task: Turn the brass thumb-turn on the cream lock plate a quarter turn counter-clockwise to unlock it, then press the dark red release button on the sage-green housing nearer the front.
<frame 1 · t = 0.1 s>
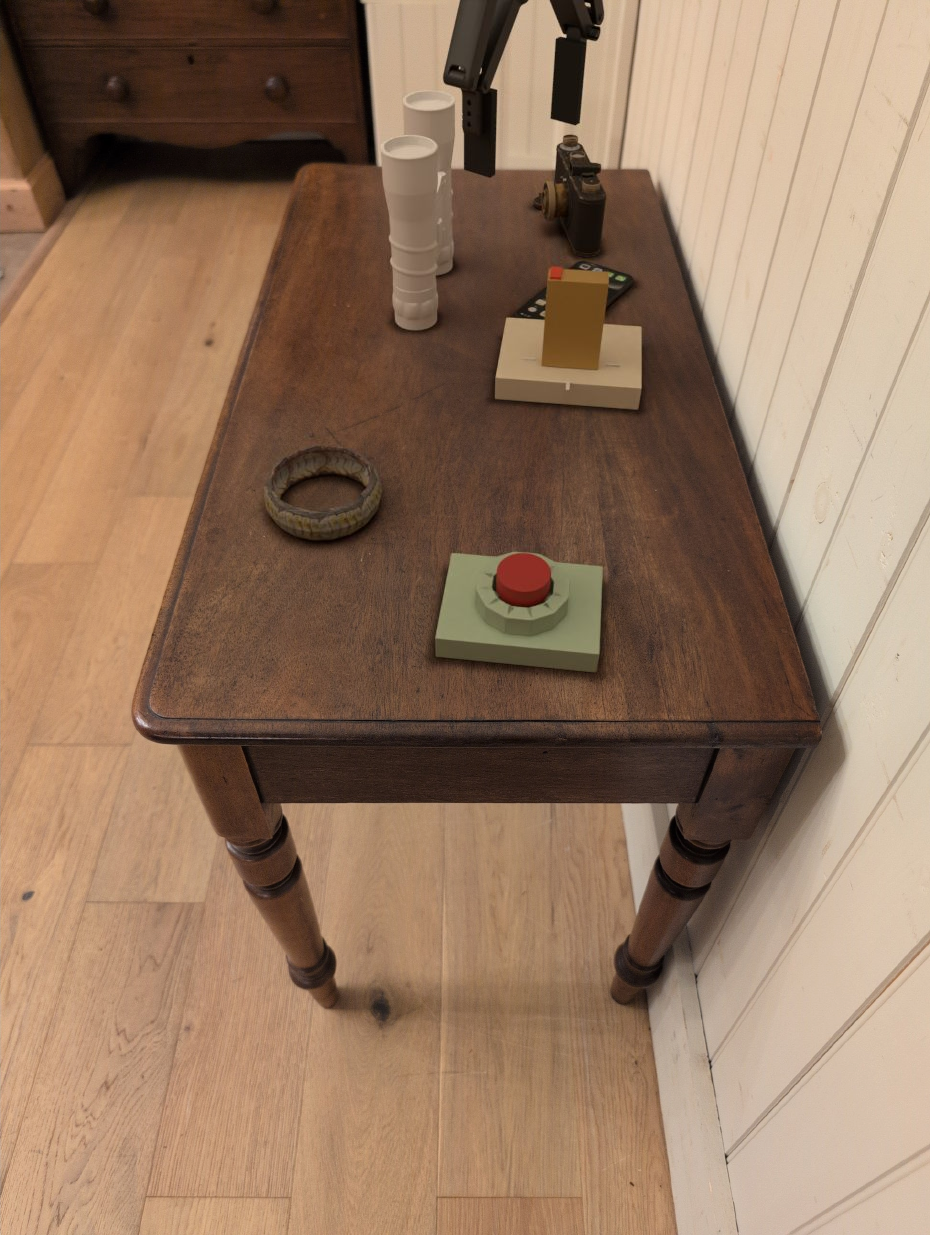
hand: (524, 146, 81), 20 cm above the table, tool pointing down, fingers open, 13 cm apart
camera: (565, 227, 115), on the table
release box: (520, 619, 71), on the table
decorative ring: (325, 507, 80), on the table
smartphone: (575, 301, 103), on the table
binoculars: (424, 293, 104), on the table
release button: (523, 579, 68), point 4 cm above the table, slide at 0.1 cm
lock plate: (568, 372, 93), on the table
lock knob: (574, 319, 87), point 7 cm above the table, hinge at 0.0°
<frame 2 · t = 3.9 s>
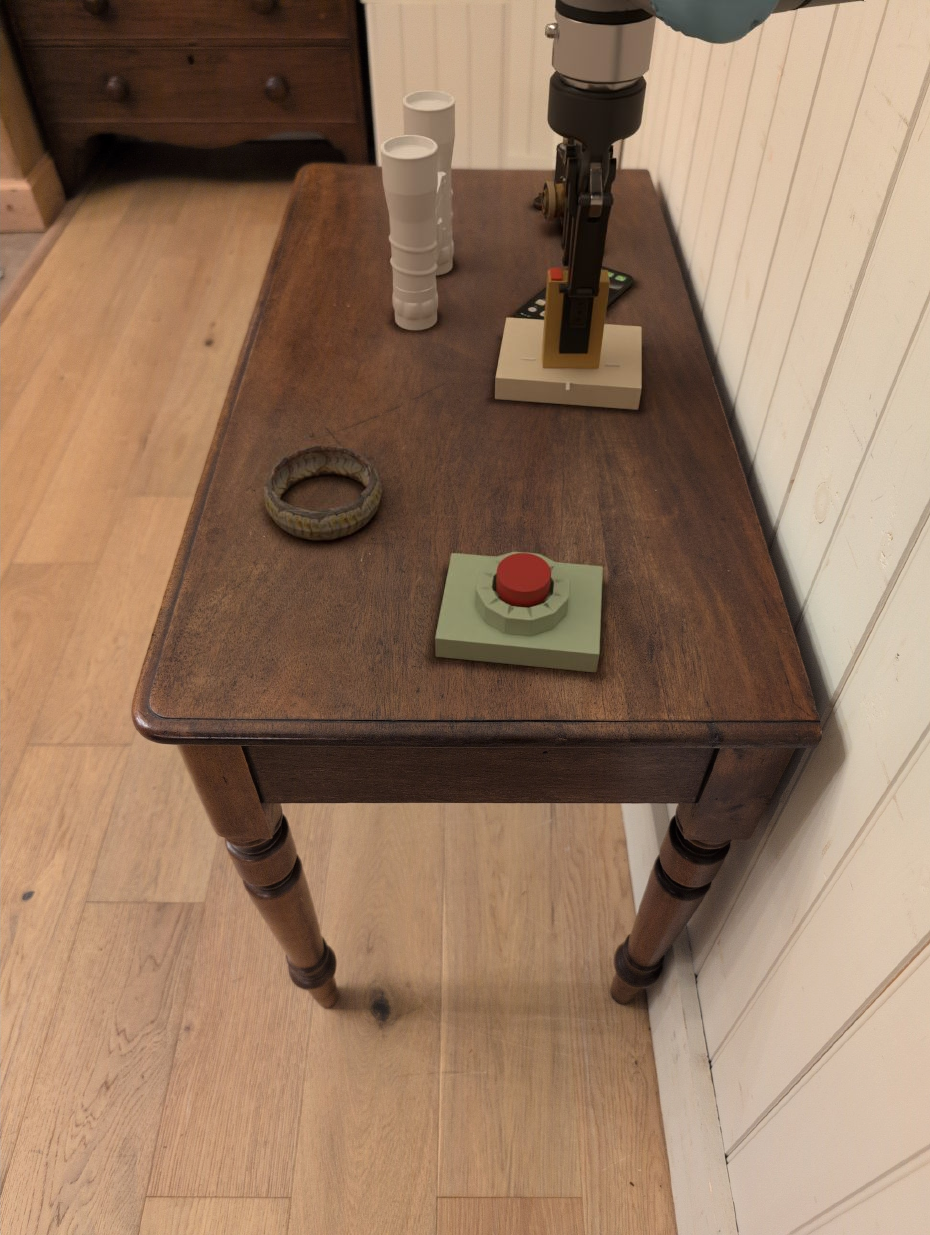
hand: (572, 342, 89), 5 cm above the table, tool pointing down, fingers closed on lock knob, 2 cm apart
lock knob: (574, 319, 87), point 7 cm above the table, hinge at 6.9°, touching gripper
everything else where it was.
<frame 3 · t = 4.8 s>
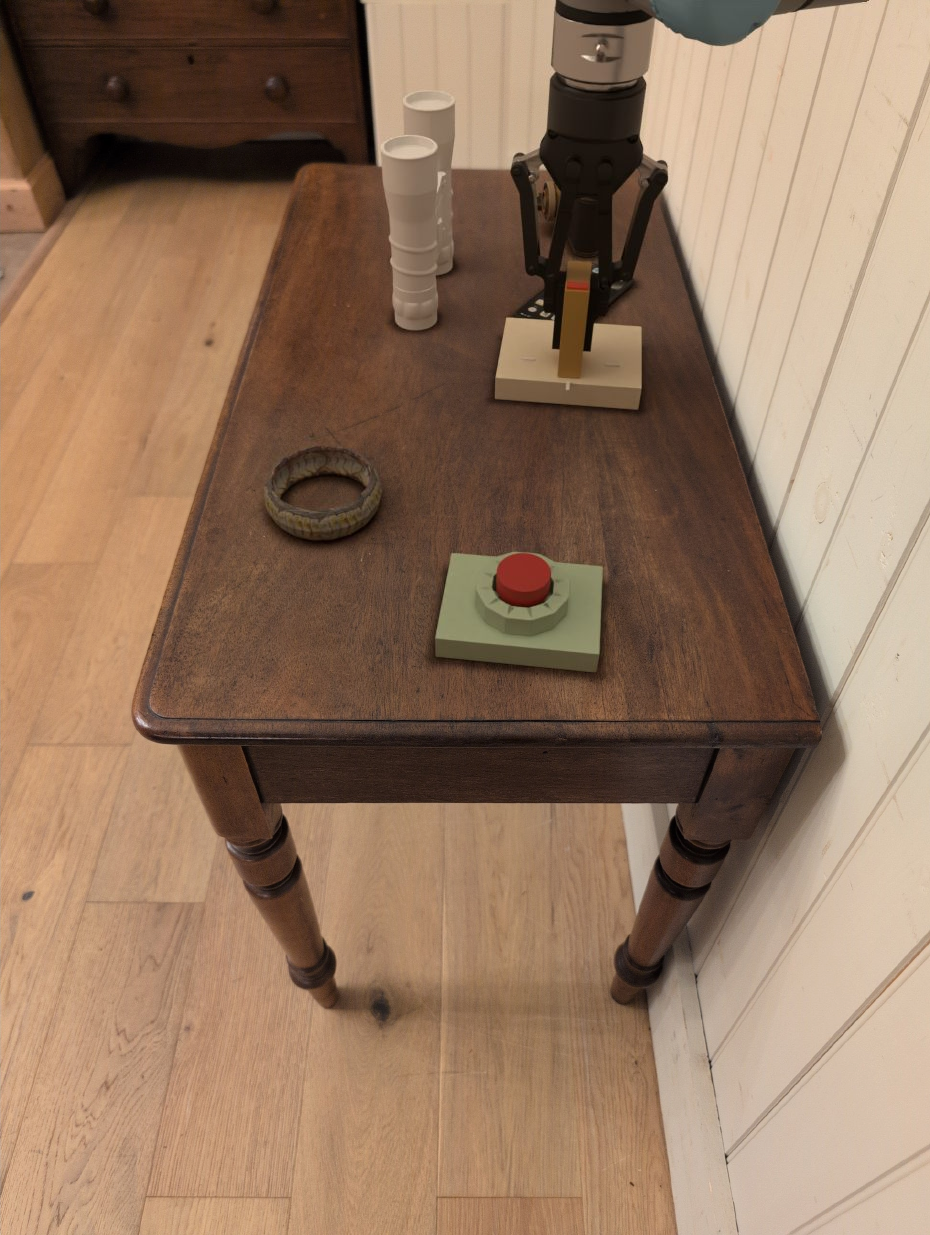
hand: (571, 342, 89), 5 cm above the table, tool pointing down, fingers closed on lock knob, 2 cm apart
lock knob: (574, 319, 87), point 7 cm above the table, hinge at 90.0°, touching gripper
everything else where it was.
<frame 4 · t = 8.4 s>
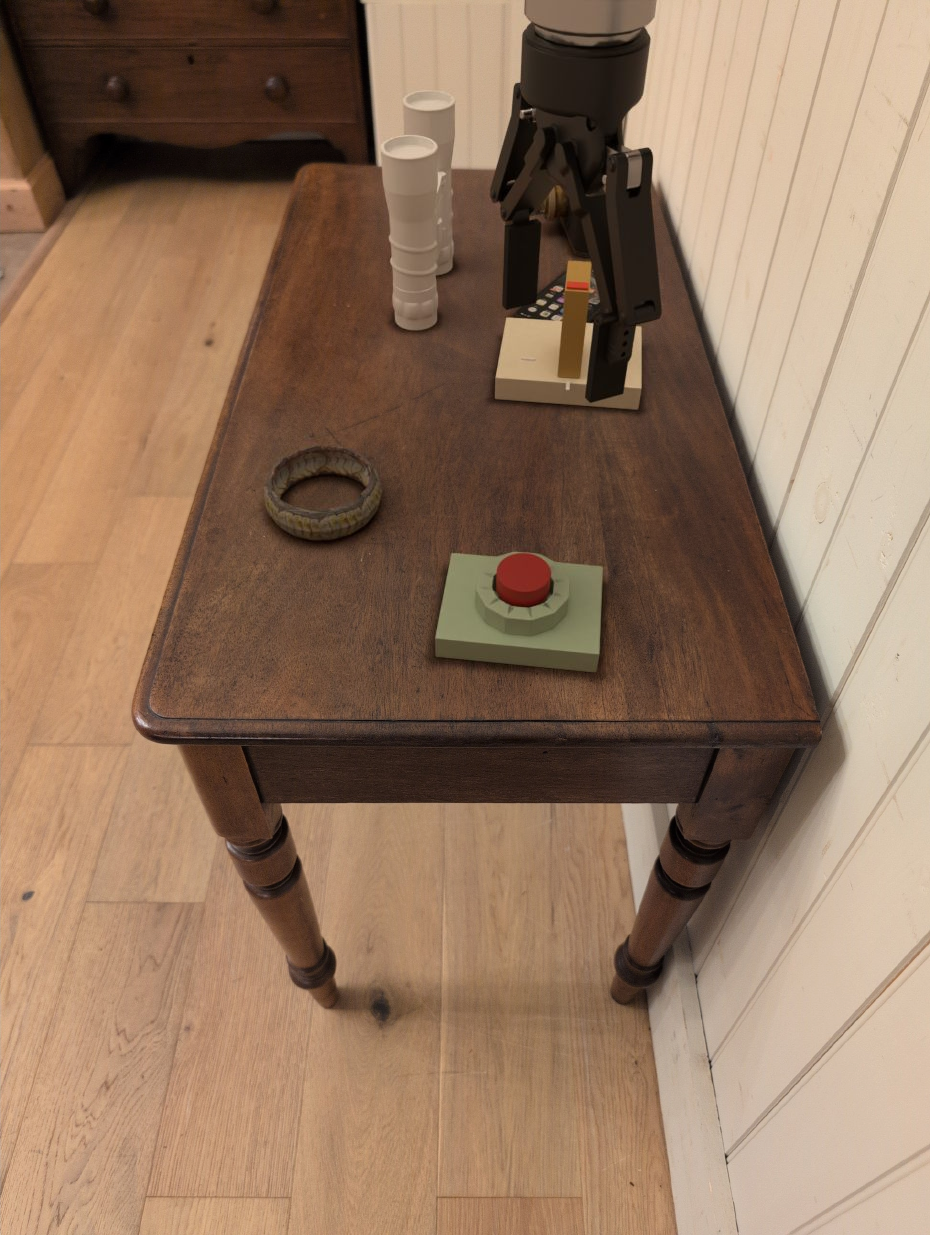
hand: (559, 347, 69), 15 cm above the table, tool pointing down, fingers open, 13 cm apart
lock knob: (574, 319, 87), point 7 cm above the table, hinge at 90.0°
everything else where it was.
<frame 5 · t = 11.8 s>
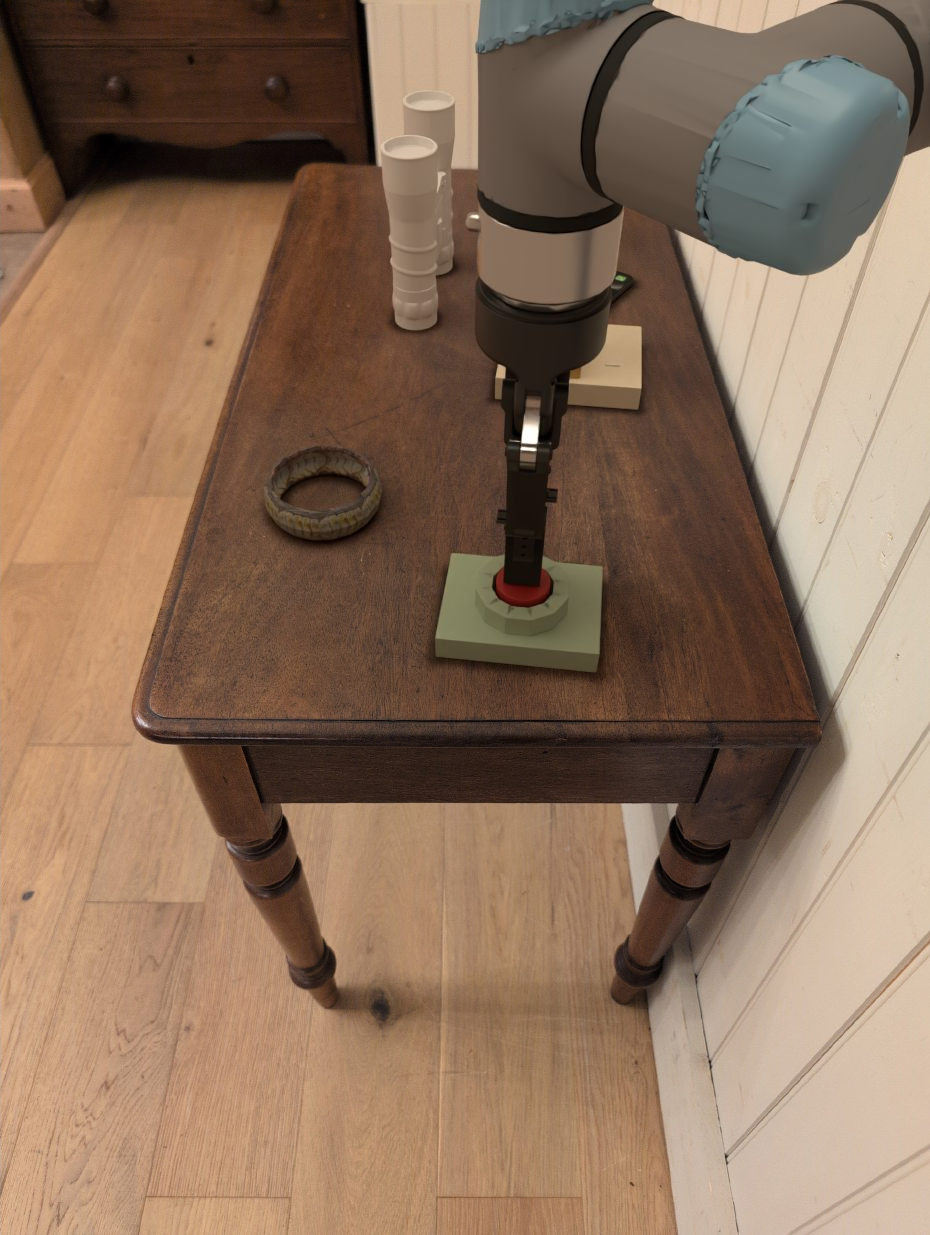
hand: (522, 577, 68), 5 cm above the table, tool pointing down, fingers closed
release button: (522, 588, 69), point 4 cm above the table, slide at -0.8 cm, touching gripper
everything else where it was.
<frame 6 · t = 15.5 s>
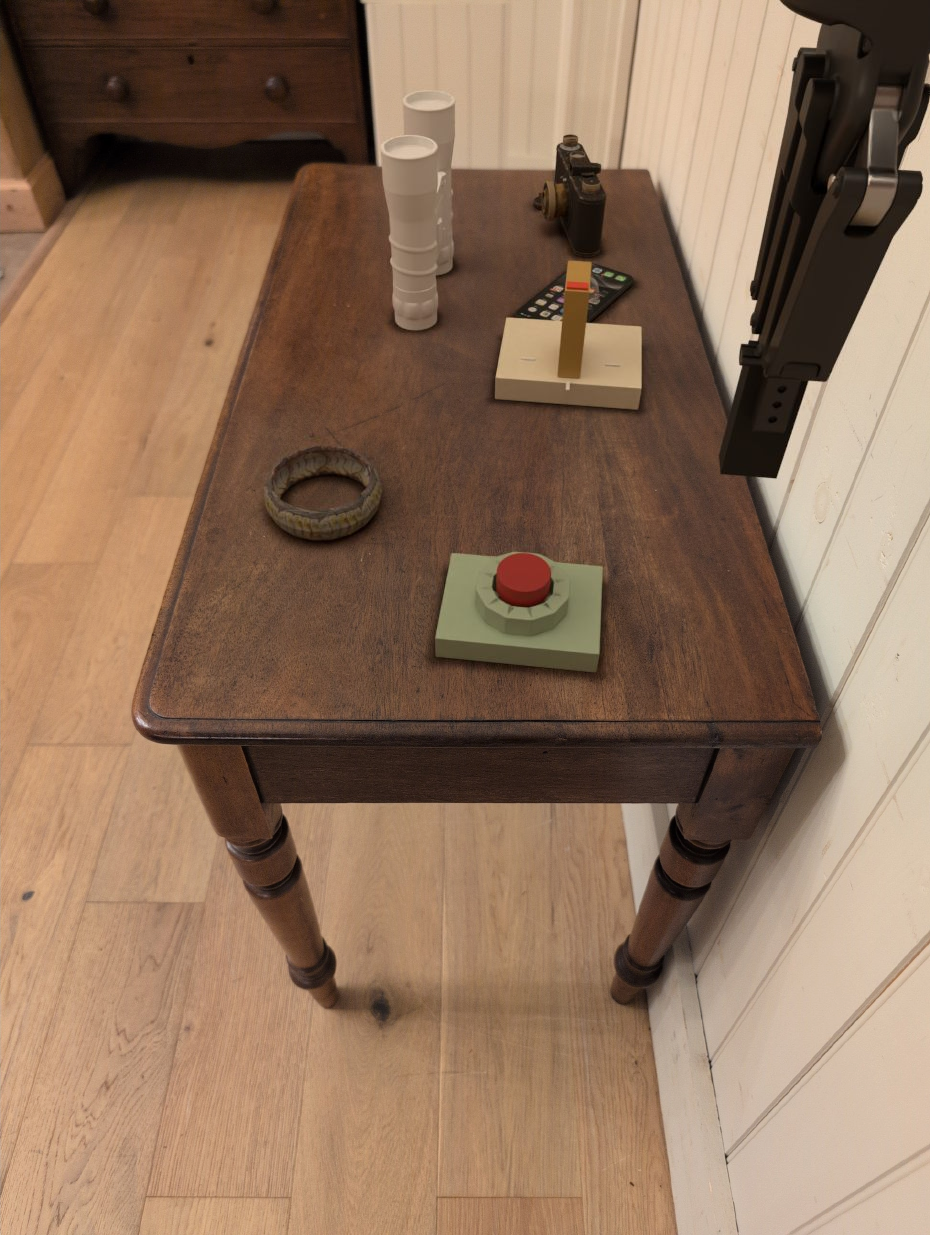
hand: (747, 466, 45), 24 cm above the table, tool pointing down, fingers closed
release button: (523, 579, 68), point 4 cm above the table, slide at 0.1 cm
everything else where it was.
at the end: lock knob at +90° (first picture: +0°); release button pushed in 1.0 cm at the most during the clip, back to where it started at the end; release button slide at 0.1 cm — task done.
